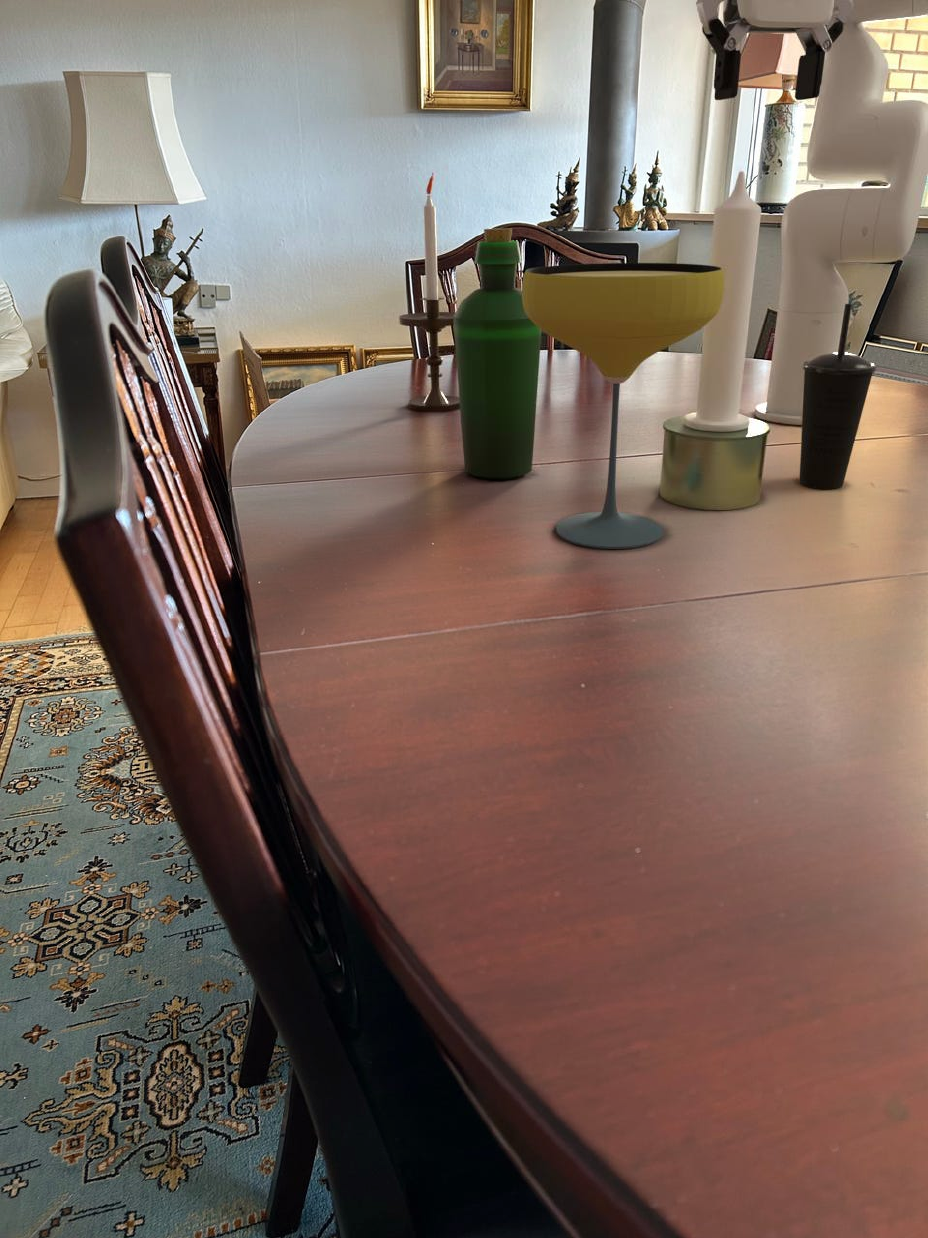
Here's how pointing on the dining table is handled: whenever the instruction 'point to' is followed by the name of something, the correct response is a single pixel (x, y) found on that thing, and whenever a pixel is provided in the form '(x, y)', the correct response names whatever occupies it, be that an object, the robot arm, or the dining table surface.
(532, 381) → the bottle
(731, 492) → the tin
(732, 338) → the candle
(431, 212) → the candlestick
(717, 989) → the dining table surface
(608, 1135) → the dining table surface
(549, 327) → the cocktail glass
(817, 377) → the drinking cup
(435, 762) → the dining table surface
